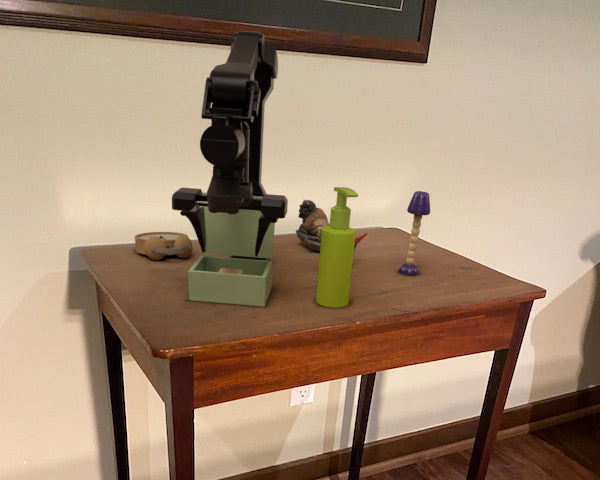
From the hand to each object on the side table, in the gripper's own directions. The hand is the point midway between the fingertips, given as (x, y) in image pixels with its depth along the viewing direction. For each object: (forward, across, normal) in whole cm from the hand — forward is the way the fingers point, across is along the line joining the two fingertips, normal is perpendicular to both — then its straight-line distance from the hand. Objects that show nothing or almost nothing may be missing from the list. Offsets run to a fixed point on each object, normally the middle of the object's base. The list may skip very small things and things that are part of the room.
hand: (230, 253), depth 107 cm
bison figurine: (+8, +13, +40) cm, 43 cm away
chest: (+8, 0, +2) cm, 8 cm away
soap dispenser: (+8, +19, +2) cm, 20 cm away
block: (+7, 0, 0) cm, 7 cm away
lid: (-3, 0, +7) cm, 8 cm away
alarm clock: (+8, -18, +24) cm, 31 cm away
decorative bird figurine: (+8, +20, +25) cm, 33 cm away
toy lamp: (+8, +34, +25) cm, 43 cm away
